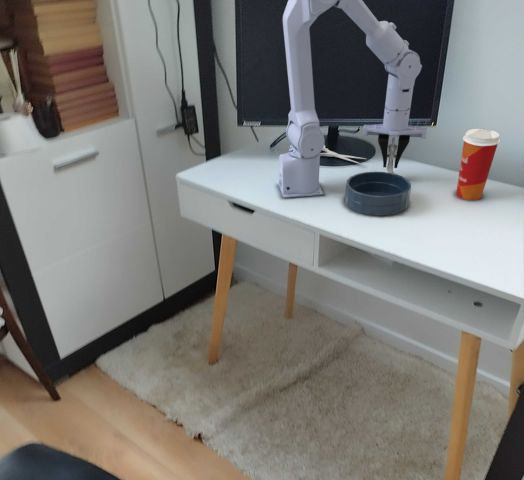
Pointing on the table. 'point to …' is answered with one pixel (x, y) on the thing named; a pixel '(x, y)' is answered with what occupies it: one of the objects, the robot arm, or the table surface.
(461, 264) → the table surface
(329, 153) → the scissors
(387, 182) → the bowl
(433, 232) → the table surface
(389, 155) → the chess piece
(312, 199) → the table surface
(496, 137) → the paper cup
